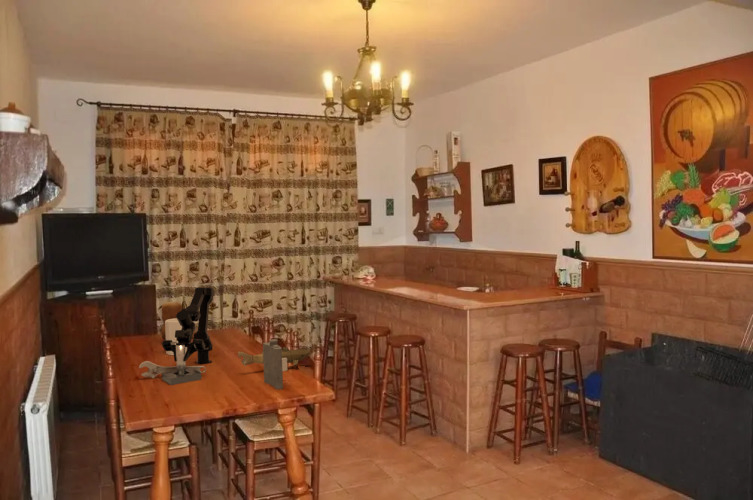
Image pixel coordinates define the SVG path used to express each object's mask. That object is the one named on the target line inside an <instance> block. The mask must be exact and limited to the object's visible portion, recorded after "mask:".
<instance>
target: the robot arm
mask: <svg viewBox="0 0 753 500" xmlns="http://www.w3.org/2000/svg"><path fill="white" fill-rule="evenodd" d="M215 294H216V292H215V289H214V288H213V287H211V286H207V287H202V286H201V287H200V286H199V287H198V286H197V287H195V288H194V294H193V296H192V298H191V301H190V303H189V305H188V306H186V307H185V308H182V311H180V312H178V313H177V315H176V318H177V320H178V322H179V324H180V326H182V329H181V330H175V338H177V339H176V340H177V341H178V343H176V342H172V340H162V343H161V346H162V348H163V349H164V351H165V352H166V351H172V352H173V353H174V355H173V359H174V362H176V345H180V344H184V345H185V347H187V351H186V353H185V357H184V361H187V360H188V359H189V358H190V357H191V356H192V355H193V354H195V353H197V355H196V356H197V360H195V361H194V362H195V363H197V364H199V365H203V364H208V363H212V360H210V352H211V351H213V343H212V341H211V336H210V335H209V333H208V327H209V314H210V312H209V311H210V305H211V304H212V302H213V300H214V297H215ZM195 322H198V324H197V325H198V326H197V331H196V332H195V330H196V324H195ZM194 332H195V333H194Z"/></svg>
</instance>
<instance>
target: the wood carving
mask: <svg viewBox="0 0 753 500" xmlns="http://www.w3.org/2000/svg"><path fill="white" fill-rule="evenodd" d="M281 348H282V372H286V371H288V364H290V363H293V366H294V367H295V366H298V364H299V362H300V361H301V360H304V359H305V358H306V357H308V356H309V355H310V354H311V351H310V350H309V349H302V348H301V349H298V348H297V349H289V348H288V347H287V346H282V347H281ZM237 356H238V358H239V359H240V361H241V364H242V365H243V366H247V365H252V364H261V365H264V362H263V350H262V351H261V353H259V354H256V355H254V354H250V353H249V354H248V353H246V352H245V351H238V352H237ZM241 357H242V358H241Z"/></svg>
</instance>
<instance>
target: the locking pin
mask: <svg viewBox="0 0 753 500" xmlns="http://www.w3.org/2000/svg"><path fill="white" fill-rule="evenodd" d="M185 354H186V353H185V345H184V344H180V345H176V363H175V364H176V366H177V375H183V374H186V366H187V365H186V361H187V360H186V361H184V357H185Z"/></svg>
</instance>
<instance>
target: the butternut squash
mask: <svg viewBox="0 0 753 500" xmlns="http://www.w3.org/2000/svg"><path fill="white" fill-rule="evenodd" d="M182 309H183V307H182V304H181V303H180V302H179V301H165V302H163V304H162V305H161V320H162V322H163V325H162V327H161V337H162V341H164V340H166V334H165V321H166V320H168V319H175V318H176V315H177V313H178V312H180V311H182Z"/></svg>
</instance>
